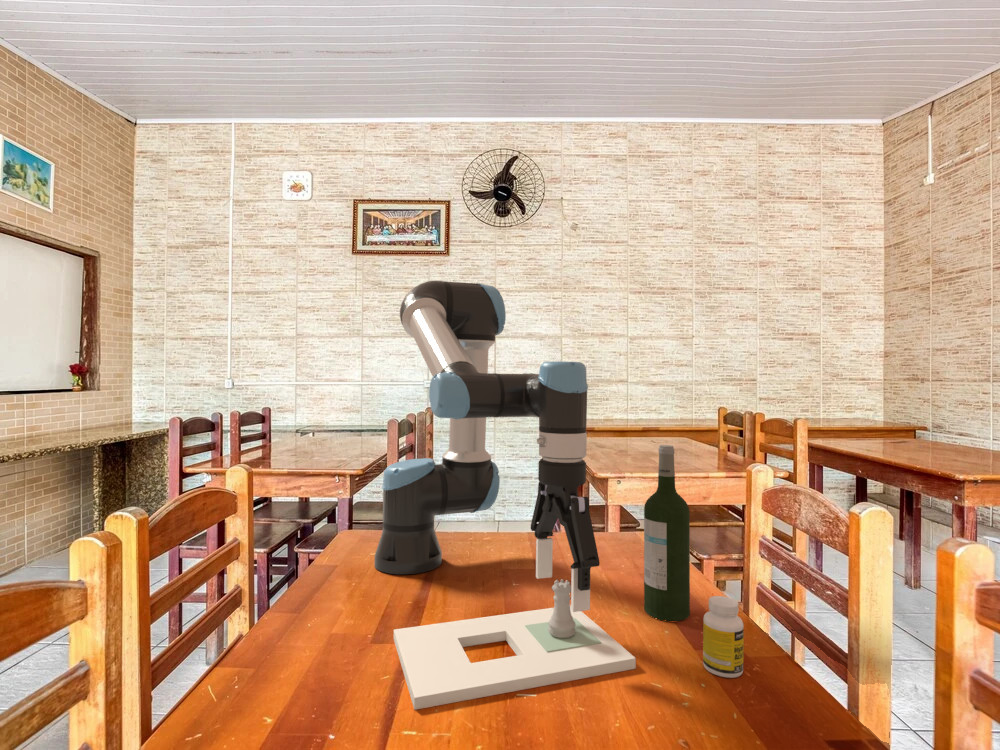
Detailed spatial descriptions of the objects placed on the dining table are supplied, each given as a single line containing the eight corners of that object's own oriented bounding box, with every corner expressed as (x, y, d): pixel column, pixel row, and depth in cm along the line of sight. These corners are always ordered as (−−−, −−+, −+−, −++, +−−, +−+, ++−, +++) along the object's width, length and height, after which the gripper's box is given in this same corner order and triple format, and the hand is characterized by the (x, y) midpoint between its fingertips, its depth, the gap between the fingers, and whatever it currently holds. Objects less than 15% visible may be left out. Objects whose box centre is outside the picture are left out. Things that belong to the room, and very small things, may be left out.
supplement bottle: (740, 683, 75) (740, 611, 75) (699, 672, 77) (699, 603, 78) (746, 666, 79) (746, 598, 79) (707, 656, 82) (707, 591, 82)
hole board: (393, 639, 87) (393, 628, 87) (573, 613, 97) (573, 603, 97) (414, 709, 68) (414, 696, 68) (635, 668, 78) (635, 656, 78)
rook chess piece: (578, 629, 87) (578, 579, 87) (573, 641, 83) (573, 588, 83) (551, 625, 88) (551, 575, 89) (544, 637, 84) (544, 585, 84)
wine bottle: (697, 612, 98) (696, 445, 98) (678, 626, 92) (677, 449, 93) (656, 600, 103) (656, 442, 104) (635, 613, 97) (635, 445, 98)
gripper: (513, 449, 97) (512, 568, 97) (576, 473, 73) (574, 630, 73) (551, 447, 99) (550, 563, 99) (625, 470, 75) (623, 623, 75)
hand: (560, 592), depth 86 cm, fingers open, 13 cm apart
